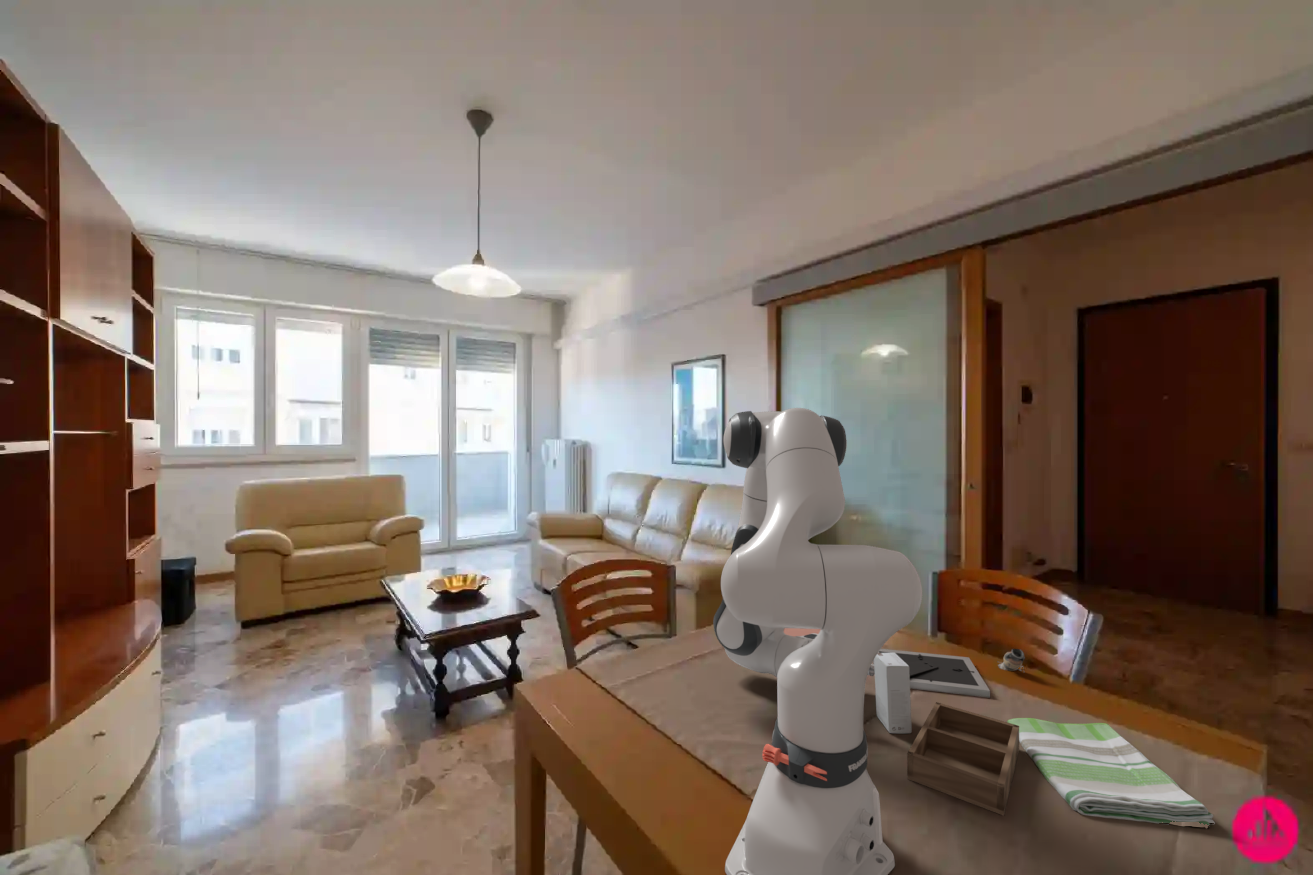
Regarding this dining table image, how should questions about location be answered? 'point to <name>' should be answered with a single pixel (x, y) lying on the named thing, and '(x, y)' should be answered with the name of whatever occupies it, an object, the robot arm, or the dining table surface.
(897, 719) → the skincare box
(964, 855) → the dining table surface
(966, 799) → the walnut slot rack
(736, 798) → the dining table surface
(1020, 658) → the vase
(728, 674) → the dining table surface
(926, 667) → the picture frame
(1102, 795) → the dish towel
